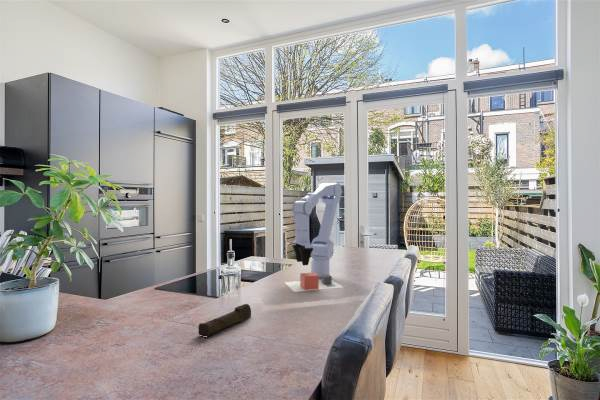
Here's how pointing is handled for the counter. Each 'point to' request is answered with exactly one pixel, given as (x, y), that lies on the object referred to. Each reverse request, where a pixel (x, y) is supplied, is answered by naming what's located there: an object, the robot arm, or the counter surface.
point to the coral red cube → (309, 281)
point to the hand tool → (225, 320)
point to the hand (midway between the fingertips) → (302, 263)
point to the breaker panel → (323, 284)
